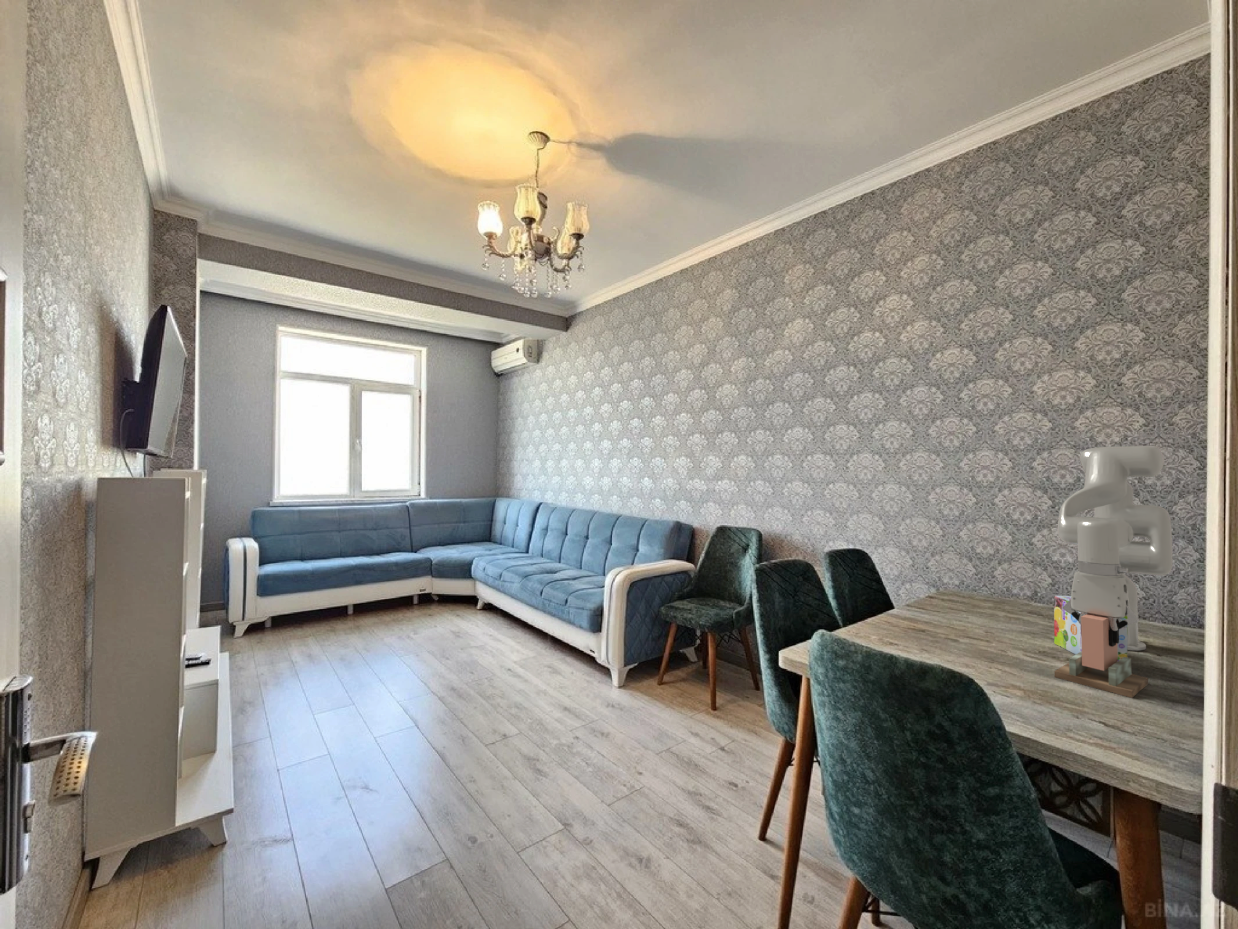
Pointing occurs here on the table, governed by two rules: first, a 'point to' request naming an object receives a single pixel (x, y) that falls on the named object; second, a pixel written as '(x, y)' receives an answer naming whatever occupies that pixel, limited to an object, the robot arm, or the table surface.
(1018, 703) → the table surface
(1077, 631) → the snack box
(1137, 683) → the shelf board
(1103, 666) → the tall pink block
